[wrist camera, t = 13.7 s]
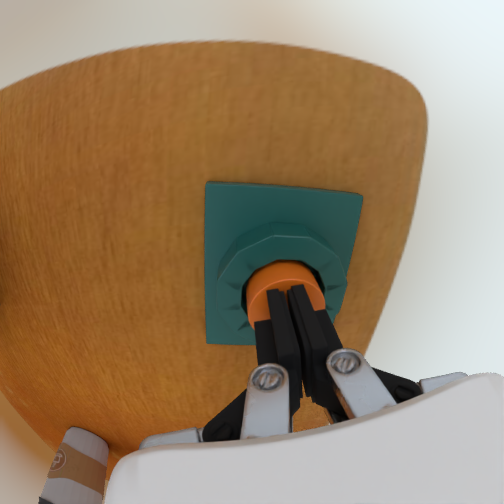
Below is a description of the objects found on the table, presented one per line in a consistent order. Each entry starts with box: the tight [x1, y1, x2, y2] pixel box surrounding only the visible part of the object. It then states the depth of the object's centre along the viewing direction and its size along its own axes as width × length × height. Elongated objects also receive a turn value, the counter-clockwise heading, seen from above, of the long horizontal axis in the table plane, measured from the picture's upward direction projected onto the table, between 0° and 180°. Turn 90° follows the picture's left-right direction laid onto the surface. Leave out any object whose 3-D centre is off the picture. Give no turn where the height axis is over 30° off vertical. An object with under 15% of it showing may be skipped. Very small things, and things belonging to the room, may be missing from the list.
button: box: [246, 259, 325, 329], centre depth 13 cm, size 4×4×2 cm
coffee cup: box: [39, 427, 109, 504], centre depth 19 cm, size 8×8×15 cm
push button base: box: [205, 181, 363, 345], centre depth 14 cm, size 10×8×2 cm
